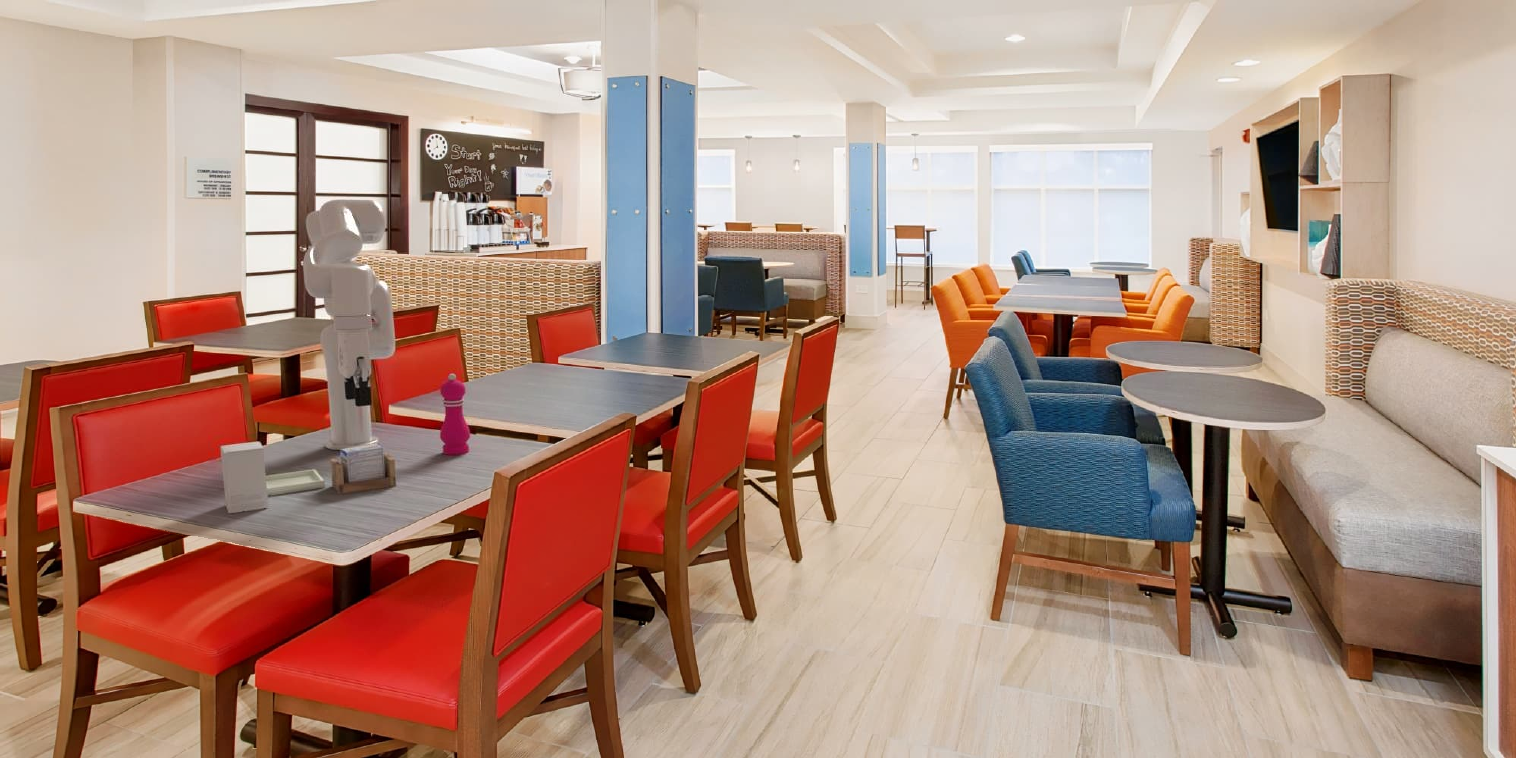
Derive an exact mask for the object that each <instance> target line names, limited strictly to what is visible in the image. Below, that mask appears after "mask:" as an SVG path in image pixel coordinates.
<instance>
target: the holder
mask: <svg viewBox="0 0 1516 758" xmlns="http://www.w3.org/2000/svg"><path fill="white" fill-rule="evenodd" d="M383 452H384V451H383ZM329 461H330V471H331V484H332V487H333V489H335V491H336V492H337V493H338V494H339V495H343V494H349V493H357V492H363V491H369V490H370V489H371V490H376V489H383V488H390V487H396V486H397V483H396V482H397V481H396V480H397V479H396V466H395V463H396V462H395V458H394V457H393V456H391V455H390V454H389V453H387V451H385V452H384V469H385V477H383V478H376V479H370V480H363V481H356V482H349V483H344V478H343V466H342V465H341V462H339V461H338V460H337V459H336V458H331V459H330V460H329Z"/></svg>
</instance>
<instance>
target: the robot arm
mask: <svg viewBox="0 0 1516 758" xmlns="http://www.w3.org/2000/svg"><path fill="white" fill-rule="evenodd" d="M305 226H306V233H307V236H308V239H309V241H310V244H311V245H310V247H308V249H307V250H306V252H305V254H304V257H303V263H302V264H303V265H302V267H303V281H304V287H305V289H306V291H307V293H308V295H310V296H311V297H312V298H315V299H323V304H324V309H325V312H326V313H327V315H328V316H330V317H332V319H333V324H330V325H327V326H326V327H325V328H323V330H321V333H320V337H319V338H320V345H321V350H322V351H321V352H322V355H323V359H324V364H325V369H326V379H327V392H328V404H329V419H330V430H331V431H330V432H331V439H328V440H327V441H326V442H325V448H327V449H329V450H334V451H340V450H341V449H346V448H351V447H357V446H364V445H370V444H377V445H379V438H378V437H377V436H375V435H373V433H372V419H371V406H372V404H373V401H372V400H373V399H372V387H371V382H370V375H371V374H372V365H371V364H372V363H371V362H372V361H371V360H383V359H388V358H391V357H393V355H394V353H395V351H396V333H395V322H394V312H393V301H392V300H393V299H392V294H391V290H390V288H389V286H388V284H387V282H385V281H383V280H379V279H377V277H376V276H377V275H376V272H375V270H373V269H372V267H371V266H370V265H369V264H366V263H360V262H357V259H356V257H357V256H358V255H360V253H361V251H362V249H363V245H370V244H371V245H372V244H373V245H374V244H378V243H380V242H381V241H382V239H383V236H384V234H385V233H386V232H385V231H386V227H387V218H386V213H385V211H384V208H383V207H382V205H381V204H380V203H379V202H377V201H376V200H373V199H331V200H328V201H326V202H325V203H323V204H322V205H321V206H320V209H319V210H314V211H311V212H310V213H308V214H307V216H306V218H305ZM372 319H373V320H374V321H373V320H372Z"/></svg>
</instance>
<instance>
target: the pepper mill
mask: <svg viewBox="0 0 1516 758" xmlns="http://www.w3.org/2000/svg"><path fill="white" fill-rule="evenodd" d="M456 378H457V376H456V374H455V373H450V374H449V375H448V380H446V381H444V382H442V384H441V385H440V388H439V392H440V395H441V397H442V398H443V400H442V402H443V404H442V406H444V411H445V413H444V415H445V416H444V419H443V424H442V425H441V428H440V431H439V432H440V433H439V438H440V440H441V442H443V443H444V444H443V445H442V452H443V453H442V454H444V455H449V456H451V455H452V456H457V455H463V454H467V453H469V451H470V445H469V443H467V442H468V440H469V439H470V438H471V430H470V428H469V425H468V423H467V422H466V420H465V416H464V413H463V411H464V410H463V405H464V404H465V402H464V400H465V399H464V398H463V397H464V396H465V394H466V386H465V384H464V383H463V382H462V381H461V380H458V379H456Z"/></svg>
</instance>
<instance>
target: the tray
mask: <svg viewBox="0 0 1516 758" xmlns="http://www.w3.org/2000/svg"><path fill="white" fill-rule="evenodd" d="M266 483H267V494H268V497H270V496H276V495H282V494H289V493H296V492H302V491H310V490H317V489H324V488H326V484H325V480H324V478H323V477H322V476H321V475H320V474H319V472H318V471H317V470H316V468H314V469H307V470H297V471H292V472H291V471H290V472H284V473H277V474H269V475H266ZM269 495H270V496H269Z"/></svg>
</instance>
